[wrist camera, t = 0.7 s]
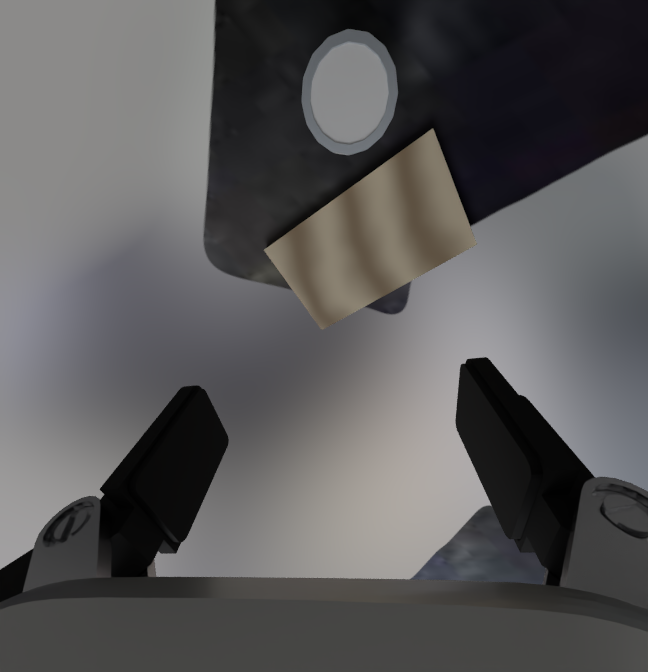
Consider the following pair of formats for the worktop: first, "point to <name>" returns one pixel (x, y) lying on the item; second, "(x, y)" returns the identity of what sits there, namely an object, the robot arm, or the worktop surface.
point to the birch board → (376, 235)
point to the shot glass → (349, 92)
